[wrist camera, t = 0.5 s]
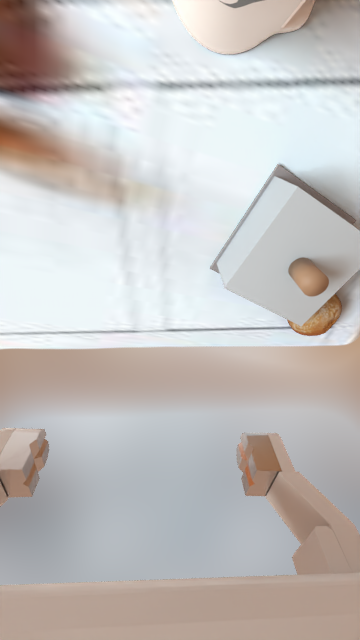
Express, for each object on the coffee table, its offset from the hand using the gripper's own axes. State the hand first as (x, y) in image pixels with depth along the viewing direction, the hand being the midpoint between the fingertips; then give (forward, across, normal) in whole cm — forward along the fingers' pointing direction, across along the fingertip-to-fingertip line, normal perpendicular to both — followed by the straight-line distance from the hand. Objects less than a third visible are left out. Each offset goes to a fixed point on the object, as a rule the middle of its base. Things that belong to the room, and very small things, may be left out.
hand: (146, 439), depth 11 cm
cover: (+36, -20, 0) cm, 41 cm away
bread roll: (+38, -30, +12) cm, 50 cm away
